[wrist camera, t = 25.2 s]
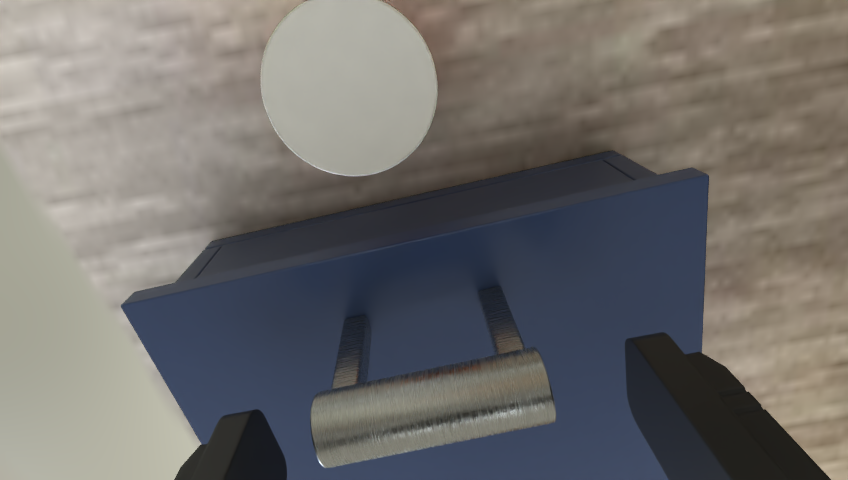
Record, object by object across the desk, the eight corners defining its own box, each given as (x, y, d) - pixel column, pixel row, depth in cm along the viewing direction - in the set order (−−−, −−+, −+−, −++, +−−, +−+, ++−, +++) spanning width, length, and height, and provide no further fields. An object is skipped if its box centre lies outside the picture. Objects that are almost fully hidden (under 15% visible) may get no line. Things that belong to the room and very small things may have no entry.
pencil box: (210, 240, 19) (146, 313, 14) (614, 149, 18) (692, 192, 13) (326, 491, 25) (309, 600, 21) (627, 432, 25) (683, 530, 20)
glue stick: (348, -13, 15) (302, -50, 8) (438, 43, 16) (471, 55, 9) (305, 84, 17) (232, 126, 9) (391, 131, 17) (387, 204, 10)
